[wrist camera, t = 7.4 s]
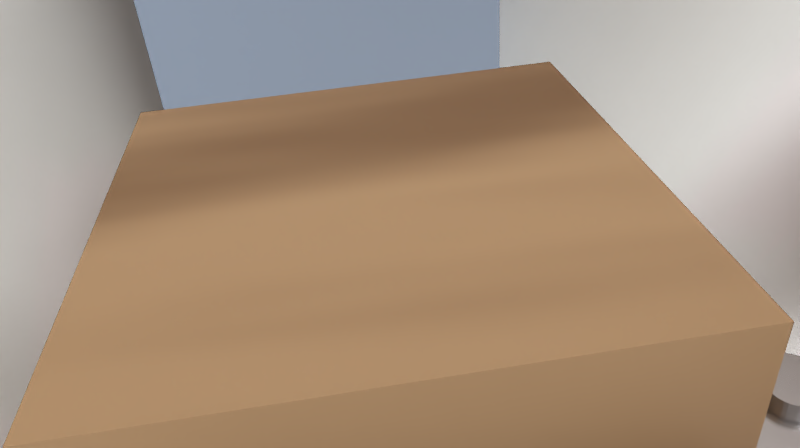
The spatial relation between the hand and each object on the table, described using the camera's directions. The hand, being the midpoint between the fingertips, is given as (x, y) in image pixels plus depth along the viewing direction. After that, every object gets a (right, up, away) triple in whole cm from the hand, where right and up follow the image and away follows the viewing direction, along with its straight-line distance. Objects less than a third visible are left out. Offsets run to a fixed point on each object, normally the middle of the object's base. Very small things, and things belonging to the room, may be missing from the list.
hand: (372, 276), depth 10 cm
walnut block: (0, 0, 0) cm, 1 cm away
